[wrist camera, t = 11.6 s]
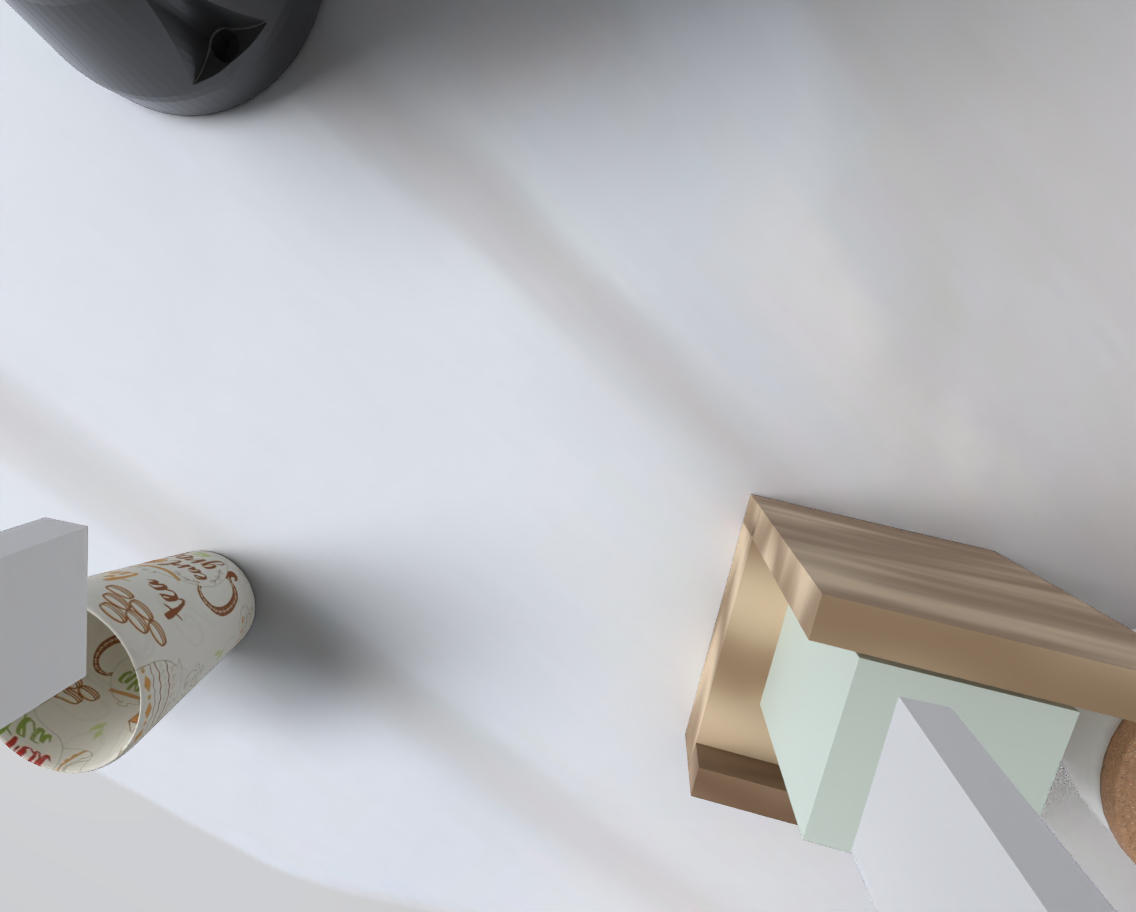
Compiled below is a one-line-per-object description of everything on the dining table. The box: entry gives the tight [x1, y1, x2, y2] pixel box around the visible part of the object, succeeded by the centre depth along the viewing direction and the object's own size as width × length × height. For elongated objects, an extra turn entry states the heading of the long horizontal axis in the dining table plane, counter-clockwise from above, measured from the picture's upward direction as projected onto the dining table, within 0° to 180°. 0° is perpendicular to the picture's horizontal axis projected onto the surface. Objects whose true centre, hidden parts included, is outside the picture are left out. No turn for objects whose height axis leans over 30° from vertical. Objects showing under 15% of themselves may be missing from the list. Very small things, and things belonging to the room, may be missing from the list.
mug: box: [0, 551, 255, 773], centre depth 33 cm, size 8×13×10 cm, turn 130°
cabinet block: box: [760, 604, 1080, 854], centre depth 26 cm, size 8×7×9 cm
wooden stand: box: [685, 494, 1136, 825], centre depth 27 cm, size 14×12×14 cm
